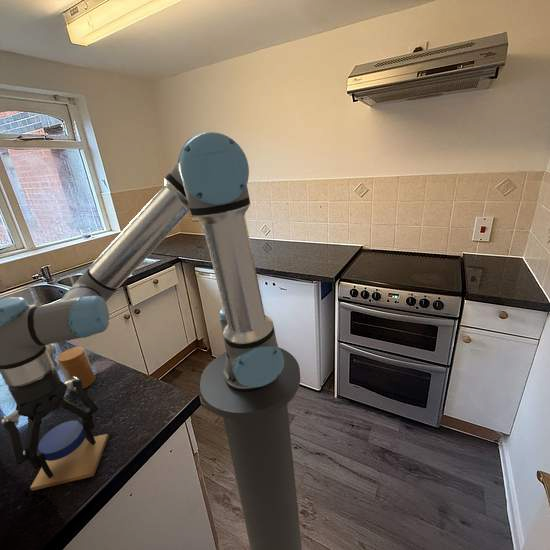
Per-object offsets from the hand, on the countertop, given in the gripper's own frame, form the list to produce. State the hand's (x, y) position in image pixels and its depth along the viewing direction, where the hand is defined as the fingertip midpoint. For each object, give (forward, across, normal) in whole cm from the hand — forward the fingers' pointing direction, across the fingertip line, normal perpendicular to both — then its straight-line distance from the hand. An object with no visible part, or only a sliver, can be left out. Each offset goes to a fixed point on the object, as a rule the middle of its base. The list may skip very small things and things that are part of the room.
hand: (71, 456), depth 66 cm
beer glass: (+2, -11, -45) cm, 47 cm away
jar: (+1, -14, -27) cm, 30 cm away
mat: (+1, 0, 0) cm, 1 cm away
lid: (-6, 0, 0) cm, 6 cm away
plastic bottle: (+2, -14, -54) cm, 56 cm away
